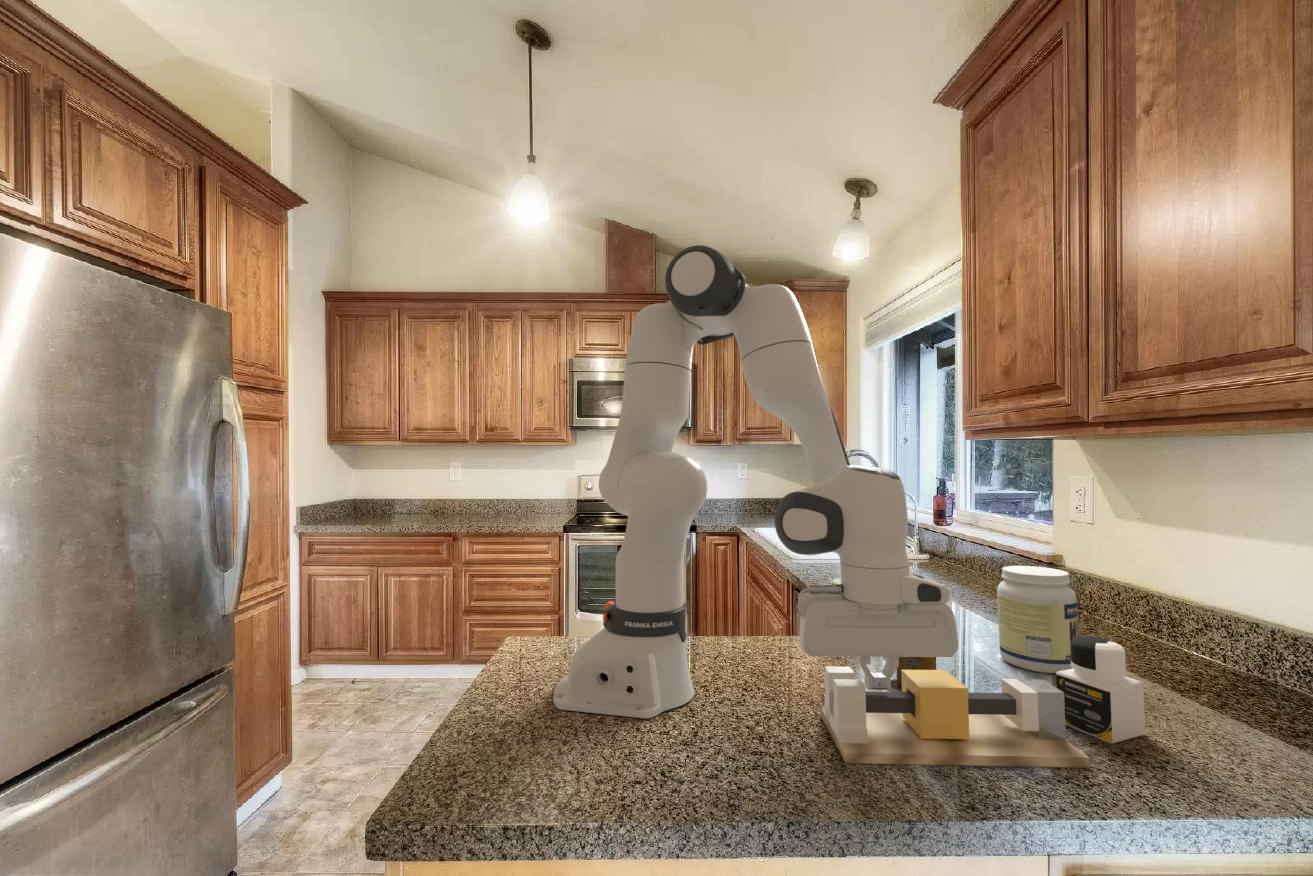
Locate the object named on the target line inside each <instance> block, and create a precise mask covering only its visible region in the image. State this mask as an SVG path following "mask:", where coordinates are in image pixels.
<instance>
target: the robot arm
mask: <svg viewBox="0 0 1313 876" xmlns="http://www.w3.org/2000/svg"><path fill="white" fill-rule="evenodd" d="M664 284H665V285H664V286H665V290H666V294H667V296H668V299H669V300H668V301H666V302H665V303H663V302H661V303H652V304H649V305H646V306H645V307H643V308H641V310H640V311H639V312H638V313H637V314H636V316H635V319H634V322H633V325H632V329H631V332H630V337H629V341H628V346H627V352H626V360H625V370H624V381H623V389H622V390H623V391H622V400H621V408H620V414H619V415H620V416H619V420H618V423H617V428H616V432H615V434H614V438H613V440H612V441H613V442H612V446H611V448H610V451H609V455H608V458H607V462H606V463H605V466H604V467H603V469H602V470H601V473H600V474H599V478H598V490H599V494H600V497H601V498H602V499H603V501H604V502H605V503H606V504H607V505H608V506H609V507H610V508H612V509H613V510H614V511H615V512H617V513H618V514H621V515H623V516H627V524H626V528H625V533H624V538H623V540H622V541H623V542H622V545H621V547H620V549H619V550H618V552H617V553H616V557H615V602H614V601H613V600H608V601H607V602H606V603H605V605H604V607H603V614H602V615H603V616H602V618H603V619H602V622H603V627H604V628H602V629H601V630H599V631H598V632H597V633H596V634H595V635H593V636H592V637H591V638H589V639H588V640H587V641H586V642H584V643H583V644H582V645H580V646H579V648H578V649H577V650H576V651H575V653H574V655H573V656H572V659H571V661H570V664H569V668H568V675H566V676H564V677H563V678H562V679H561V680H559V682H558V684H557V685H556V687H555V689H554V692H553V698H552V699H553V700H552V701H553V704H554V706H555V707H556V708H557V709H558V710H564V711H570V712H571V711H572V712H582V713H592V714H600V715H601V714H602V715H609V716H610V715H611V716H620V717H628V718H639V719H652V718H654V717H656V716H658V715H659V714H661V713H663V712H666V711H668V710H671V709H675V708H678V707H681V706H683V705H685V704H687V703H689V702H690V701H691V700H692V699H693V698H694V697H695V688H694V687H695V686H694V684H693V681H692V678H691V677H692V676H691V672H690V669H689V663H688V656H687V647H686V641H687V636H688V612H687V605H686V603H685V602H684V560H685V552H686V545H687V541H688V536H689V533H690V529H691V526H692V522H693V520H694V518H695V515H696V514H697V513H698V512H699V511H700V510H701V508H702V507H703V505H704V503H705V501H706V498H707V494H708V482H707V477H706V474H705V472H704V470H703V469H702V466H700V465H699V464H698V463H697V462H696V461H694V460H693V459H692V458H689V457H687V456H685V455H682V454H681V453H677V452H673V448H674V445H675V442H676V439H677V437H678V434H679V433H680V431H681V429H682V428H683V426H684V425H685V423H686V422H687V418H688V417H689V416H688V415H689V405H690V404H689V403H690V391H691V378H692V377H691V376H692V364H693V363H692V362H693V353H694V348H695V346H696V344H699V345H703V346H705V345H707V344H710V343H714V342H717V341H722V340H728V339H731V338H733V337H735V340H736V343H737V347H738V351H739V356H740V357H739V358H740V362H741V366H742V372H743V376H744V380H745V383H746V386H747V388H748V390H749V392H750V395H751V398H752V399H753V400H754V401H755V403H756V404H757V405H758V406H759V407H761V408H762V409H763V410H765V411H767V413H770V414H772V415H773V416H775V418H776V417H777V418H778V419H779V420H780V421H782V422H783V423H785V425H787V426H788V427H789V428H790V429H791V430H792V431H793V432H794V434H795V435H796V437H797V439H798V440H799V442H800V445H801V447H802V450H803V454H804V457H805V460H806V463H807V466H808V469H809V474H810V477H811V479H812V483H813V485H811V486H807V487H803V488H801V489H798V490H795V491H793V492H789V493H787V494H786V495H785V496H784V497H782V498H781V499H780V501H779V502H778V504H777V507H776V509H775V513H774V528H775V531H776V534H777V537H778V539H779V541H780V542H781V543H782V545H783V546H784V547H785V548H786V549H788V550H789V551H790V552H792V553H794V554H797V555H804V556H818V555H821V554H828V553H835V554H837V555H838V556H839V568H840V569H839V571H840V578H841V585H832V584H825V585H821V584H820V585H819V584H809V585H808V586H807V587H805V588H804V589H802V590H801V591H800V592H799V593H798V595H797V611H798V614H799V615H800V621H799V623H800V624H799V635H798V636H799V637H798V638H799V645H800V647H801V649H802V651H804V652H805V653H806V654H807V656H809V657H827V658H828V657H831V658H832V657H836V658H837V657H840V658H841V657H843V658H845V657H847V658H852V657H854V658H855V661H856V662H857V664H858V665H859V667H860V669H861V670H862V672H863V673H864V685H865V689H866V690H868V691H875V690H876V691H877V690H879V691H881V690H882V691H891V680H892V679H891V678H892V677H893V675H894V674H895V673H896V672H897V667H898V666H899V657H936V658H953V656H954V655H955V654H956V653H957V651H958V650H959V638H958V629H957V628H958V627H957V623H956V616H955V613H954V611H953V609H952V608H951V607H950V606H949V605H948V604H946V603H948V602H949V600H950V591H949V588H947V587H946V586H945V585H943V584H941V583H939V582H938V581H936V580H933V579H931V578H927V577H925V576H922V575H920V574H917V573H911V572H910V571H911V569H910V560H909V556H908V554H907V549H906V544H907V543H906V542H907V538H908V535H909V519H908V518H909V517H908V508H907V507H908V505H907V498H906V492H905V487H904V484H903V481H902V479H901V477H900V476H899V475H898V474H897V473H896V472H894V471H892V470H890V469H887V468H883V467H878V466H873V465H872V466H871V465H863V464H850V460H849V457H848V454H847V451H846V447H845V445H844V442H843V439H842V435H841V432H840V429H839V426H838V424H837V423H838V422H837V420H836V417H835V415H834V412H833V409H832V407H831V404H830V401H829V398H828V395H827V393H826V391H825V390H826V389H825V387H824V384H823V381H822V377H821V373H820V370H819V367H818V363H817V358H816V355H815V350H814V346H813V342H812V338H811V334H810V332H809V331H810V330H809V328H808V325H807V322H806V319H805V317H804V314H803V312H802V309H801V307H800V304H799V302H798V300H797V299H796V297H795V295H794V293H793V291H791V290H790V289H789V287H787V286H784V285H781V284H778V283H767V284H762V285H758V286H750V285H748V283H746V276H745V275H744V273H742V271H740V269H738V268H737V267H736V266H735V265H734V263H732V261H730V259H728V257H726V256H725V255H724V254H723V253H721V251H720V252H719V251H718V250H716V249H715V248H712V247H710V246H706V245H699V244H698V245H692V246H689V247H686V248H684V249H682V250H680V251H679V252H678V253H677V254H675V255H674V257H672V259H671V260H670V262H669V264H668V266H667V268H666V271H665V279H664ZM873 657H874V658H877V657H878V658H882V659H883V661H885V664H884V665H883V668H882V670H881V671H880V672H871V671H870V669H869V667H868V666H867V665H871V661H872V659H871V658H873Z"/></svg>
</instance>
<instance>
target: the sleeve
mask: <svg viewBox="0 0 1313 876" xmlns="http://www.w3.org/2000/svg"><path fill="white" fill-rule="evenodd" d="M901 674H902V692H912V693H913V694H914V695H915V713H903V717H904V718H905V720H906V721H907V722H908V723H909V724H910V726H911V727H912V728H913V729H914V730H915V731H916V733H917V734H918V735H919V736H920V737H921V738H930V739H969V711H968V693H969V688H968V687H967V686H966V685H965V684H963V683H962V682H960V681H959V680H958V679H957V678H956V677H954V676H953V675H952V674H951V673H950V672H948V671H947V670H945V669H936V670H901Z"/></svg>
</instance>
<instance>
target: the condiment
mask: <svg viewBox="0 0 1313 876" xmlns="http://www.w3.org/2000/svg"><path fill="white" fill-rule="evenodd" d="M901 670H937V657H899V666H898V667H897V669H896V678H893V679H891V690H890V692H902V674H901Z"/></svg>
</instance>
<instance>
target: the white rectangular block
mask: <svg viewBox="0 0 1313 876" xmlns="http://www.w3.org/2000/svg"><path fill="white" fill-rule="evenodd" d="M1000 681H1001V683H1000V684H1001V693H1008V694H1009V695H1011V696H1012V697H1013V698H1015V699H1016V715H1004V716H1005V717H1006V718H1008V719H1009V720H1010V721H1011V722H1013V723H1014V724H1015V725H1016V726H1018V727H1019V728H1020V729H1021V730H1023V731H1039V715H1038V693H1037V692H1036V691H1034V690H1032V689H1031V688H1029V687H1028V686H1026V685H1025V684H1023V683H1022V682H1020V681H1019V680H1017V678H1001V679H1000Z"/></svg>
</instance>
